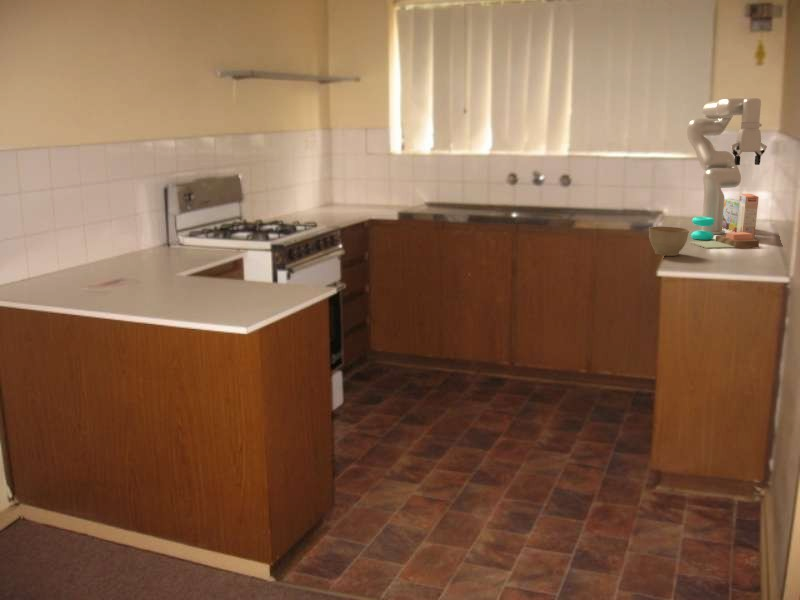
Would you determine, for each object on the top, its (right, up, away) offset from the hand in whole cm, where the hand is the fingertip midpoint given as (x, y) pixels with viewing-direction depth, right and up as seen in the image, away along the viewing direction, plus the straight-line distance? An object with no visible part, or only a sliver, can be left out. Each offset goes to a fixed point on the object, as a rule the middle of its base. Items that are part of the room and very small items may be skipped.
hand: (747, 164), depth 382 cm
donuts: (-15, -33, +14) cm, 39 cm away
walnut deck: (-6, -37, -3) cm, 37 cm away
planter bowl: (-45, -43, -28) cm, 68 cm away
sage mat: (-18, -37, -5) cm, 41 cm away
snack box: (+11, -27, +41) cm, 50 cm away
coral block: (-5, -33, -4) cm, 33 cm away
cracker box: (+4, -33, +12) cm, 36 cm away
